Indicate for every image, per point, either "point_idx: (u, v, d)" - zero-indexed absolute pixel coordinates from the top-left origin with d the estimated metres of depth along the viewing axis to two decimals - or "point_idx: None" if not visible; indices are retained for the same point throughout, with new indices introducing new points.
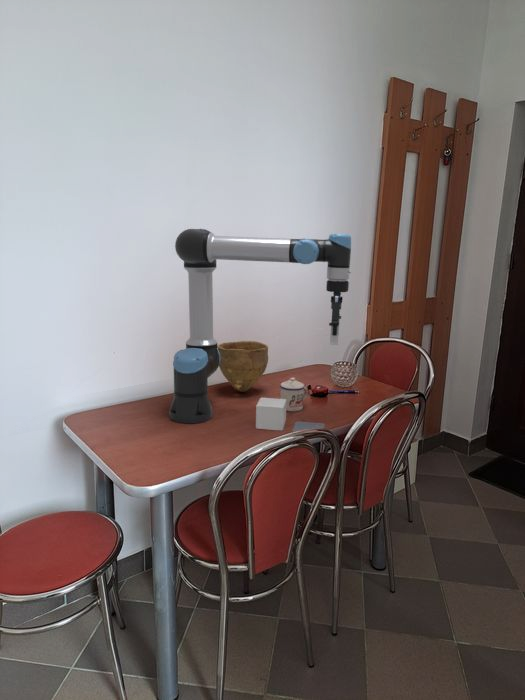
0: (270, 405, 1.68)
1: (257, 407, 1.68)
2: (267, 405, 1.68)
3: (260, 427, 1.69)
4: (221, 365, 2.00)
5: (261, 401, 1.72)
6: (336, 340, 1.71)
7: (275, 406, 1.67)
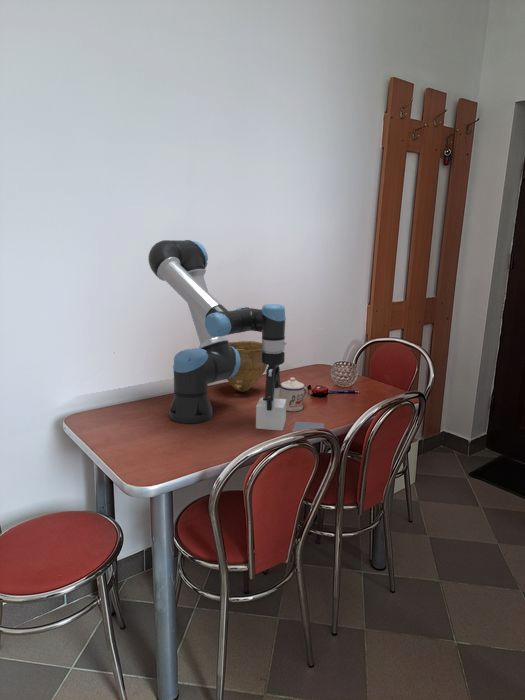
0: None
1: (257, 407, 1.68)
2: None
3: (260, 427, 1.69)
4: None
5: (261, 401, 1.72)
6: (271, 415, 1.64)
7: (275, 406, 1.67)
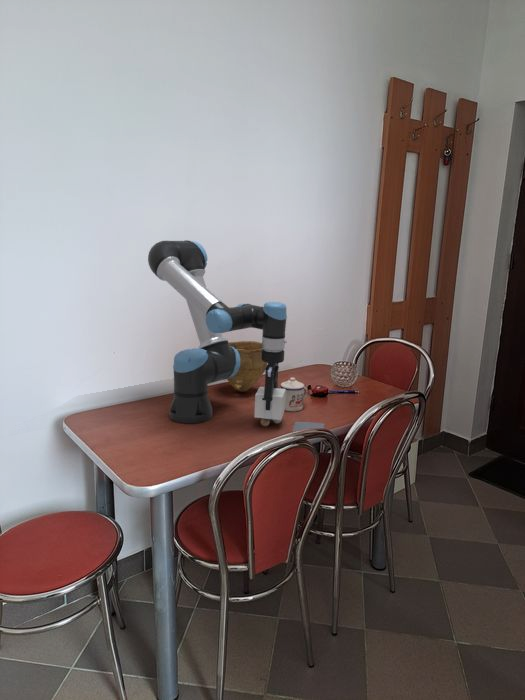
0: None
1: (256, 396, 1.67)
2: None
3: (259, 416, 1.69)
4: None
5: (260, 390, 1.71)
6: (270, 414, 1.67)
7: (274, 395, 1.67)
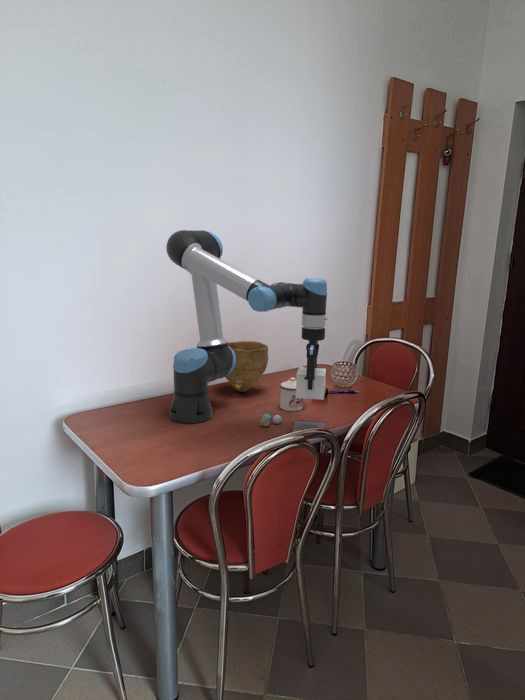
0: None
1: (297, 375, 1.62)
2: None
3: (301, 396, 1.63)
4: None
5: (300, 370, 1.66)
6: (312, 394, 1.62)
7: (316, 374, 1.62)
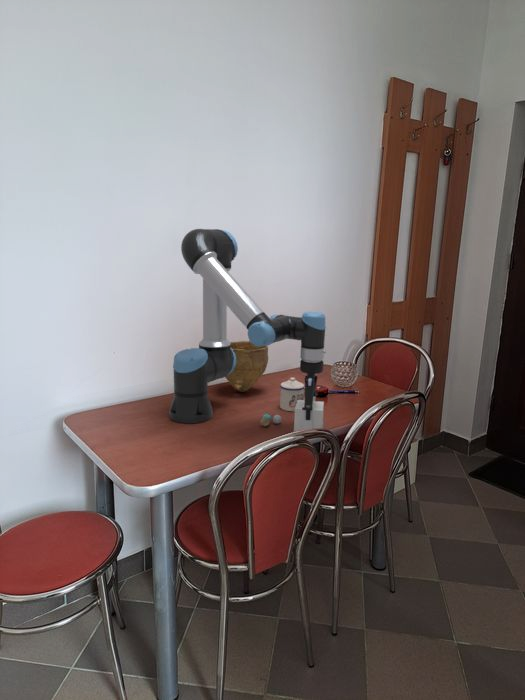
0: None
1: (296, 410, 1.65)
2: None
3: None
4: None
5: (299, 404, 1.69)
6: (310, 424, 1.62)
7: (314, 409, 1.64)
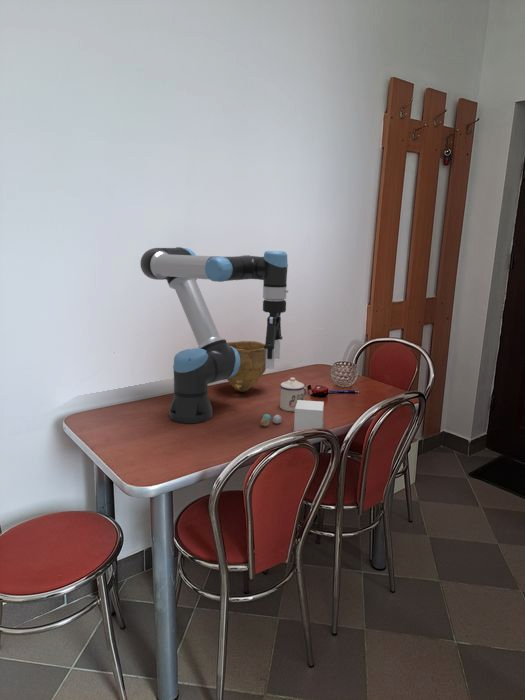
0: (309, 408, 1.65)
1: (296, 410, 1.65)
2: (306, 408, 1.65)
3: None
4: None
5: (299, 404, 1.69)
6: (272, 364, 1.61)
7: (314, 409, 1.64)
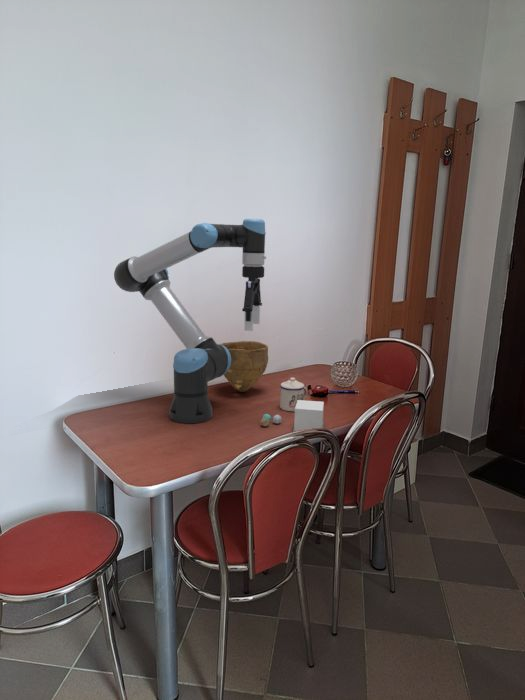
0: (309, 408, 1.65)
1: (296, 410, 1.65)
2: (306, 408, 1.65)
3: None
4: None
5: (299, 404, 1.69)
6: (250, 326, 1.70)
7: (314, 409, 1.64)
